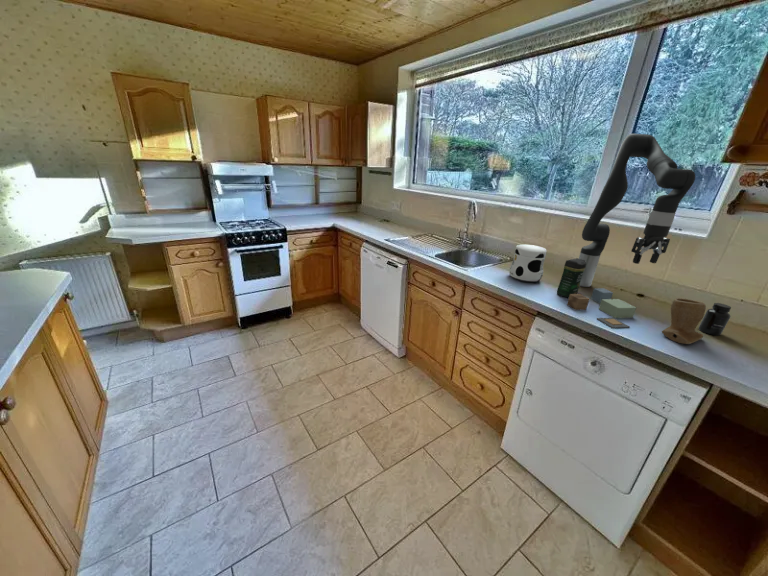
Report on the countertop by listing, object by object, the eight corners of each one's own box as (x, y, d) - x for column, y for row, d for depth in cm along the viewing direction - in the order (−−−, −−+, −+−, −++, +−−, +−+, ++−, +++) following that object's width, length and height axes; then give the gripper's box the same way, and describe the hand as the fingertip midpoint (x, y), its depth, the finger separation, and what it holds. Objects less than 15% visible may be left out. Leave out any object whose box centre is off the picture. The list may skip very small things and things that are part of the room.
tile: (596, 319, 135) (597, 317, 134) (612, 318, 136) (613, 316, 136) (612, 328, 127) (613, 326, 127) (629, 327, 129) (630, 325, 128)
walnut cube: (566, 305, 148) (569, 294, 146) (577, 304, 149) (580, 293, 146) (575, 310, 143) (578, 298, 141) (585, 309, 144) (589, 298, 141)
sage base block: (598, 309, 145) (601, 299, 143) (615, 308, 147) (618, 298, 145) (614, 318, 137) (618, 308, 135) (632, 317, 138) (636, 307, 136)
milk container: (503, 273, 187) (509, 243, 180) (533, 274, 187) (540, 244, 180) (513, 283, 171) (520, 251, 164) (546, 285, 171) (554, 253, 164)
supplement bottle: (713, 337, 125) (727, 309, 120) (693, 328, 131) (706, 302, 126) (725, 335, 127) (739, 308, 122) (705, 327, 133) (717, 300, 128)
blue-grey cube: (590, 298, 156) (593, 288, 154) (600, 298, 157) (603, 288, 155) (599, 303, 151) (603, 292, 149) (609, 303, 152) (613, 292, 150)
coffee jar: (569, 299, 154) (580, 262, 147) (553, 293, 160) (563, 258, 153) (579, 295, 159) (590, 260, 152) (563, 290, 165) (573, 255, 158)
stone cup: (669, 326, 132) (683, 292, 126) (705, 340, 122) (723, 304, 117) (650, 333, 125) (664, 298, 120) (687, 348, 116) (705, 311, 110)
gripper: (664, 221, 129) (649, 260, 135) (635, 221, 126) (621, 260, 132) (683, 225, 122) (667, 265, 128) (653, 225, 119) (638, 266, 125)
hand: (644, 263), depth 130 cm, fingers open, 8 cm apart
